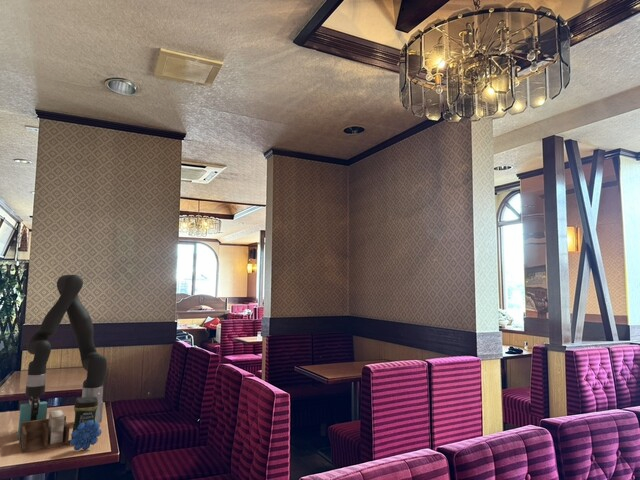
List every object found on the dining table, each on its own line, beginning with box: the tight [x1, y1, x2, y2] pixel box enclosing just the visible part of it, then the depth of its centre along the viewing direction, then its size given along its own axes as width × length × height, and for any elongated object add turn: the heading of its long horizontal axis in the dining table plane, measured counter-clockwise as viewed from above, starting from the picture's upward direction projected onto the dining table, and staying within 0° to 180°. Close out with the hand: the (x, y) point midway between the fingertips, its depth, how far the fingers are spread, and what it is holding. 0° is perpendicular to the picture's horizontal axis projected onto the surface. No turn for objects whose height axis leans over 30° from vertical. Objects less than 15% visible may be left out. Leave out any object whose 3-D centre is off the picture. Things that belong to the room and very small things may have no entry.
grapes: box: [69, 420, 103, 452], centre depth 187 cm, size 12×7×12 cm, turn 119°
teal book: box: [17, 401, 48, 440], centre depth 201 cm, size 4×10×14 cm, turn 127°
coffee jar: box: [70, 396, 98, 440], centre depth 198 cm, size 10×8×19 cm
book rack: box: [18, 409, 70, 454], centre depth 192 cm, size 17×14×12 cm
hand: (32, 422), depth 201 cm, fingers closed on teal book, 4 cm apart
